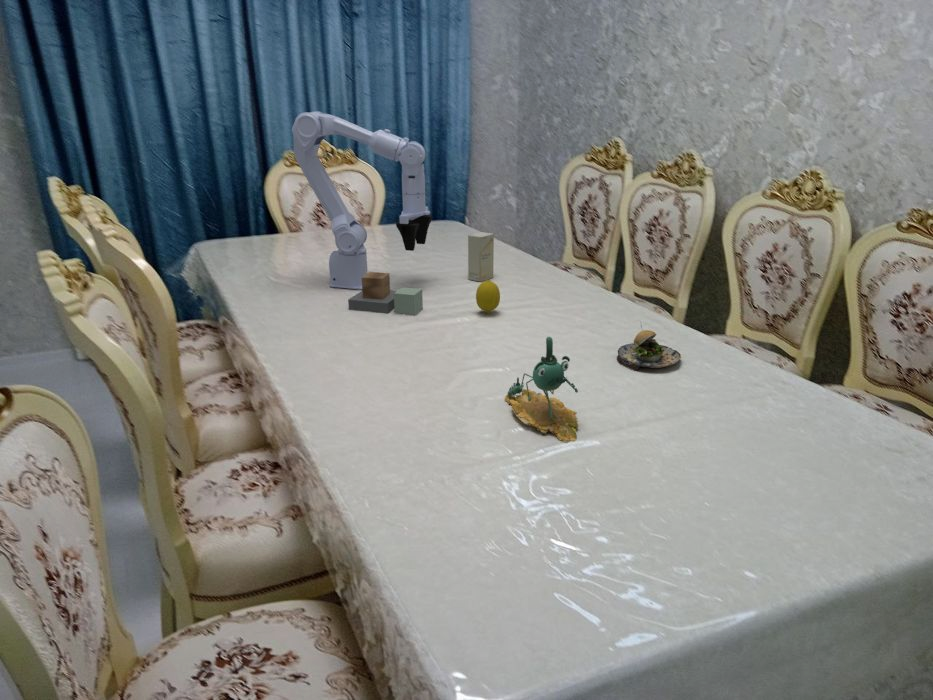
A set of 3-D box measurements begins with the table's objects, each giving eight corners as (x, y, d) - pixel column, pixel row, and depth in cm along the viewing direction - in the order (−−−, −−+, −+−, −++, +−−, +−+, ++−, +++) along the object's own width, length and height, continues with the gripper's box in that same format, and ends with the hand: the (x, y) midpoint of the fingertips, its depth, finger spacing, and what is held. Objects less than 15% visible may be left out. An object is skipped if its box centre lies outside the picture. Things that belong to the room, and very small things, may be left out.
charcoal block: (348, 311, 156) (348, 299, 155) (367, 299, 165) (366, 287, 164) (387, 315, 153) (387, 303, 152) (404, 303, 162) (404, 291, 161)
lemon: (471, 315, 152) (471, 281, 149) (482, 308, 156) (482, 275, 153) (493, 318, 149) (493, 284, 146) (503, 311, 154) (504, 278, 151)
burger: (634, 377, 120) (638, 339, 117) (605, 354, 130) (608, 318, 128) (693, 370, 123) (698, 332, 120) (659, 348, 133) (663, 312, 130)
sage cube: (394, 314, 153) (393, 293, 151) (403, 307, 157) (402, 287, 155) (414, 316, 151) (414, 295, 150) (422, 309, 156) (422, 289, 154)
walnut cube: (362, 297, 156) (361, 277, 154) (370, 291, 160) (369, 271, 158) (382, 299, 155) (381, 278, 153) (390, 293, 159) (389, 273, 157)
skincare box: (480, 282, 177) (480, 237, 172) (467, 279, 179) (467, 235, 175) (494, 277, 181) (494, 233, 177) (481, 274, 184) (481, 231, 179)
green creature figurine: (542, 389, 115) (552, 312, 108) (597, 448, 100) (613, 362, 93) (492, 398, 111) (498, 318, 105) (541, 460, 97) (553, 372, 90)
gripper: (418, 198, 157) (419, 254, 162) (438, 189, 170) (439, 241, 175) (390, 196, 159) (393, 252, 164) (413, 188, 172) (414, 240, 177)
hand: (415, 246), depth 170 cm, fingers open, 7 cm apart
